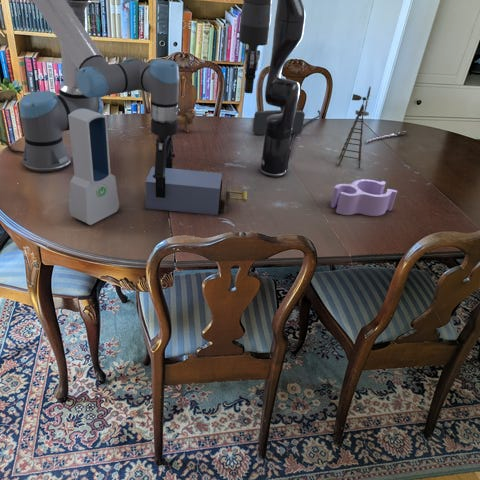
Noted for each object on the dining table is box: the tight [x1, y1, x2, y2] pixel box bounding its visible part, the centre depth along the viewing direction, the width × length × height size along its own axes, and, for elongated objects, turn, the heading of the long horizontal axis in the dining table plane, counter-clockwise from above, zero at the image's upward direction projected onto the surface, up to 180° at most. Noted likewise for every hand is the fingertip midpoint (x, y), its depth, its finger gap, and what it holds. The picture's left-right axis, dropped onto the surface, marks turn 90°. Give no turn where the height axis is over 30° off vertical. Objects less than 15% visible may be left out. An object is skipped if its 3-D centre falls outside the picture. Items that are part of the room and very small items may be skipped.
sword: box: [365, 132, 406, 144], centre depth 214 cm, size 31×3×1 cm, turn 126°
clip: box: [330, 178, 398, 217], centre depth 152 cm, size 20×12×7 cm, turn 109°
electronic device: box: [68, 109, 120, 226], centre depth 127 cm, size 12×8×30 cm, turn 148°
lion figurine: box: [177, 108, 197, 133], centre depth 195 cm, size 15×5×9 cm, turn 110°
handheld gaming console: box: [252, 109, 306, 136], centre depth 203 cm, size 23×3×10 cm, turn 108°
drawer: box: [218, 177, 248, 213], centre depth 143 cm, size 26×10×7 cm, turn 89°
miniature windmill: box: [338, 86, 372, 169], centre depth 177 cm, size 9×8×30 cm
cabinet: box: [144, 166, 223, 216], centre depth 143 cm, size 22×11×9 cm, turn 89°
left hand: (164, 186), depth 142 cm, fingers open, 13 cm apart
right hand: (248, 92), depth 126 cm, fingers closed
